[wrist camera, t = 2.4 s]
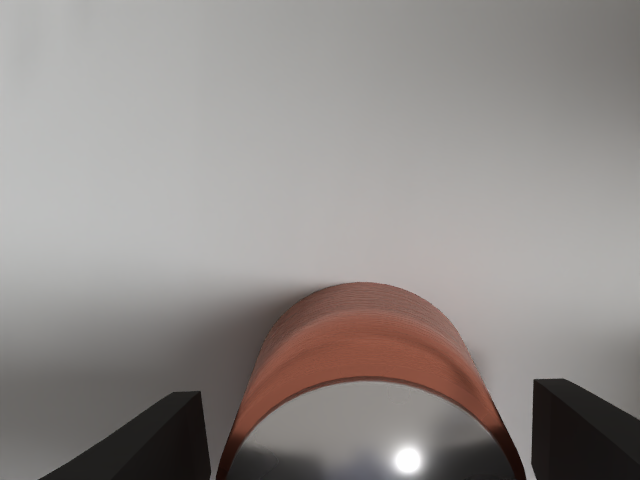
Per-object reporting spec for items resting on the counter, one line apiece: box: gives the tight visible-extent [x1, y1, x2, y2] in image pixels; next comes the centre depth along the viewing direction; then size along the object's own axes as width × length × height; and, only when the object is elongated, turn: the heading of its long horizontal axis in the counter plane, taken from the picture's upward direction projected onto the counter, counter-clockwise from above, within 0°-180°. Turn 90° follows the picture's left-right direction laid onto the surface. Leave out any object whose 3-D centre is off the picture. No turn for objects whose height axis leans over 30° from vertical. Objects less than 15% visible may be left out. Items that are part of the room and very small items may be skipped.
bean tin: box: [216, 282, 526, 480], centre depth 11 cm, size 5×5×5 cm
